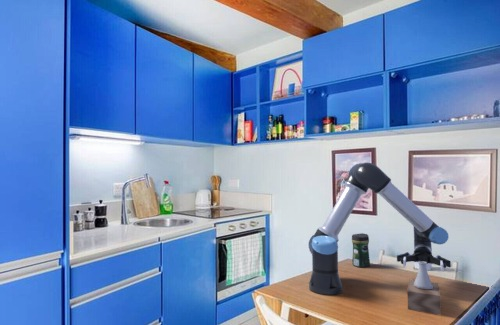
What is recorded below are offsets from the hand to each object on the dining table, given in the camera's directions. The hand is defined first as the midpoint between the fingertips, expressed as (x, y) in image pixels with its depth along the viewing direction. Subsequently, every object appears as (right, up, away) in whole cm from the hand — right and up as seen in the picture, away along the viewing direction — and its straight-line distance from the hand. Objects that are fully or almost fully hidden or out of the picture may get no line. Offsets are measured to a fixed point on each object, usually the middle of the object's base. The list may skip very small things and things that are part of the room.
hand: (422, 265), depth 128 cm
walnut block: (0, -16, -1) cm, 16 cm away
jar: (+27, -18, +49) cm, 59 cm away
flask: (0, -9, 0) cm, 9 cm away
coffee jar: (-6, -19, +56) cm, 59 cm away
